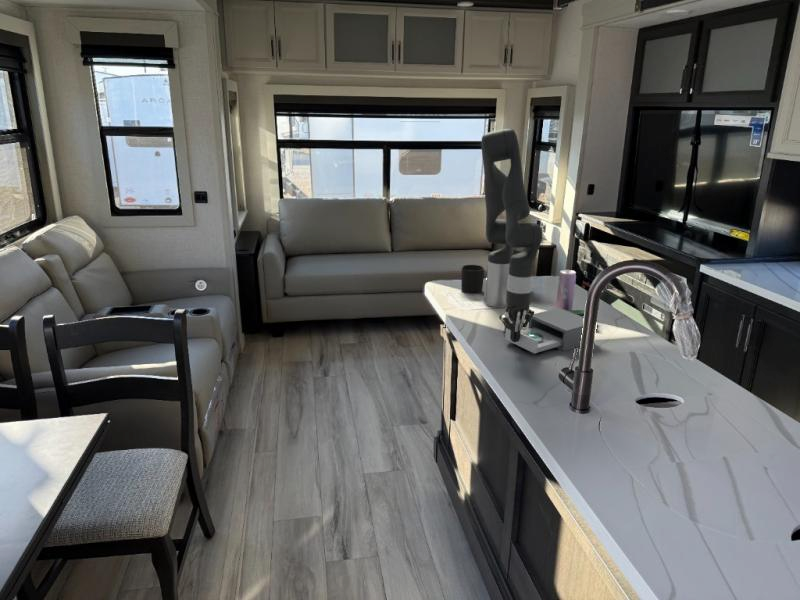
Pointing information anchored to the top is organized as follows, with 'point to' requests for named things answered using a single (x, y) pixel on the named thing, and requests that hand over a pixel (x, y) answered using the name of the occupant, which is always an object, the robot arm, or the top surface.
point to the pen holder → (472, 279)
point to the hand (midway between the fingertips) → (514, 341)
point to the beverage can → (566, 289)
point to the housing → (560, 326)
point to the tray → (532, 343)
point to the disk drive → (580, 313)
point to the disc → (536, 336)
